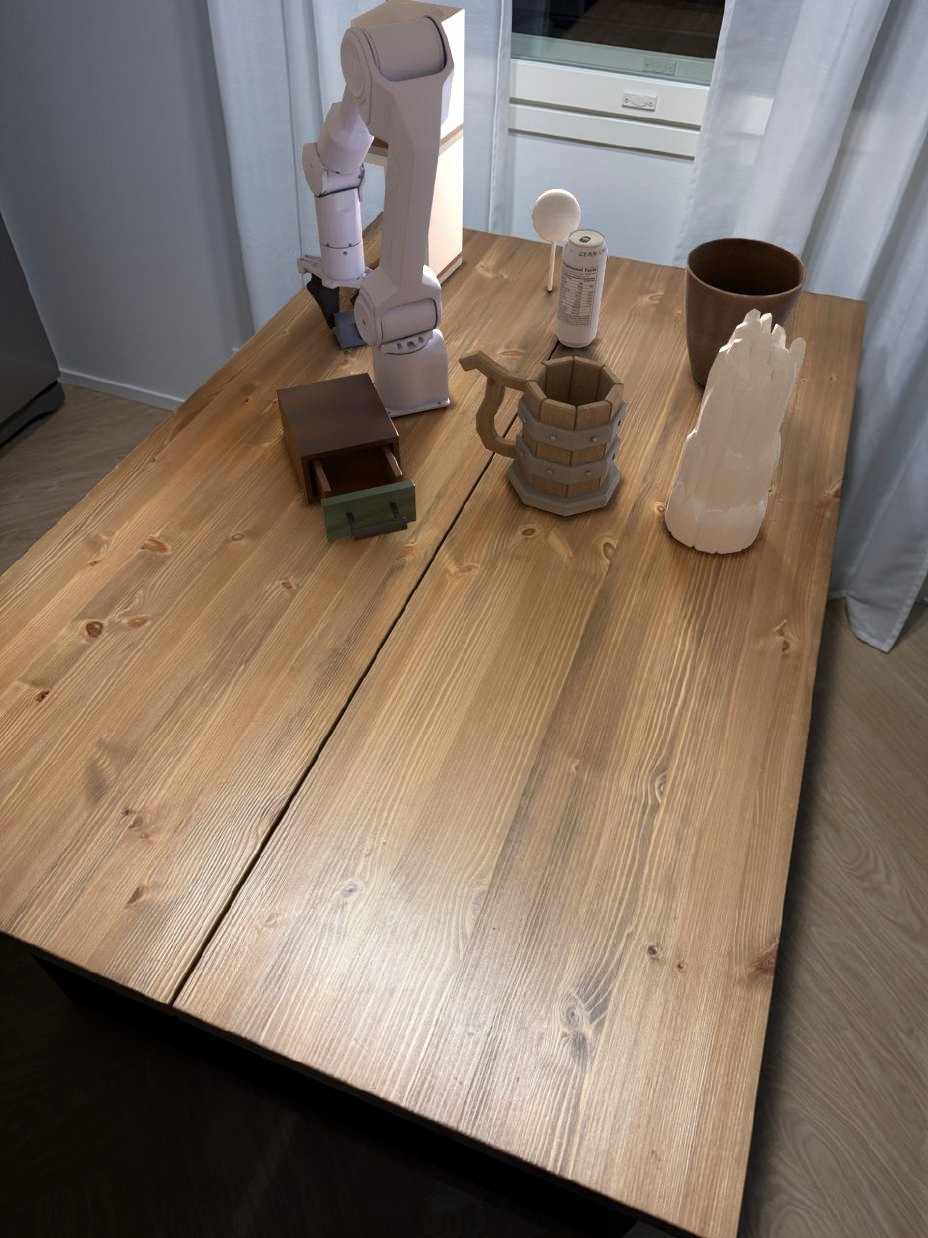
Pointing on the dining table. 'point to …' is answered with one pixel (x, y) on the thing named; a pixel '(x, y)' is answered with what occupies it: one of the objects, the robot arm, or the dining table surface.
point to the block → (347, 329)
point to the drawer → (363, 493)
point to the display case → (449, 176)
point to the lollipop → (555, 220)
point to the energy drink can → (580, 287)
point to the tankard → (556, 430)
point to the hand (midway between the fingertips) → (349, 330)
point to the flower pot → (735, 293)
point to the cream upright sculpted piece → (735, 440)
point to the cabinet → (333, 422)
